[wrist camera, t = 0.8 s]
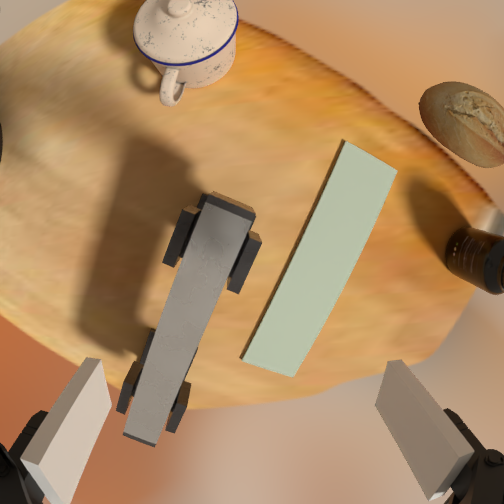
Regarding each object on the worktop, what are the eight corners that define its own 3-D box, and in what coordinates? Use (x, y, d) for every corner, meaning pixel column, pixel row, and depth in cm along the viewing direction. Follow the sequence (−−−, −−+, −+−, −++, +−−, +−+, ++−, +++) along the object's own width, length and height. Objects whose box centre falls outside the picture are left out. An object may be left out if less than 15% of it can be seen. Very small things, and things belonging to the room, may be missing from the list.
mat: (241, 359, 38) (241, 361, 37) (344, 141, 32) (346, 140, 32) (292, 375, 39) (293, 377, 38) (395, 170, 33) (397, 170, 33)
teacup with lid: (169, 16, 28) (145, -38, 17) (246, 28, 29) (252, -29, 17) (137, 109, 30) (94, 81, 19) (218, 124, 31) (209, 97, 20)
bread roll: (489, 180, 34) (529, 184, 26) (407, 145, 33) (446, 140, 25) (495, 117, 32) (533, 113, 24) (415, 74, 31) (452, 57, 23)
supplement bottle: (483, 232, 36) (544, 252, 24) (470, 278, 37) (526, 309, 25) (451, 219, 35) (515, 238, 23) (437, 270, 36) (496, 303, 25)
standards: (137, 364, 37) (114, 415, 27) (201, 192, 33) (186, 199, 23) (184, 383, 38) (172, 437, 28) (257, 216, 34) (266, 233, 24)
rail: (132, 408, 31) (122, 435, 26) (213, 191, 26) (208, 193, 22) (161, 420, 31) (154, 447, 27) (252, 207, 26) (255, 213, 22)
